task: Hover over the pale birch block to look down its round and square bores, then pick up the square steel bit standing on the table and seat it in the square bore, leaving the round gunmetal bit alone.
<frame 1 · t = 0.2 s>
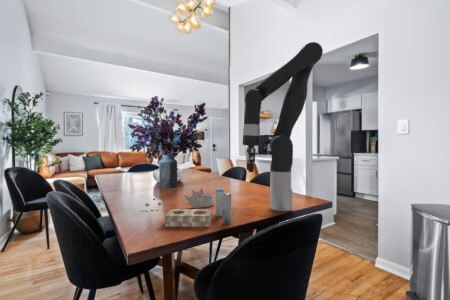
hand: (249, 170, 107), 17 cm above the table, tool pointing down, fingers open, 8 cm apart
diorama: (153, 206, 115), on the table
square bit: (220, 215, 98), on the table
socket block: (189, 222, 89), on the table
grey spiky piece: (201, 205, 115), on the table
round bit: (226, 223, 88), on the table
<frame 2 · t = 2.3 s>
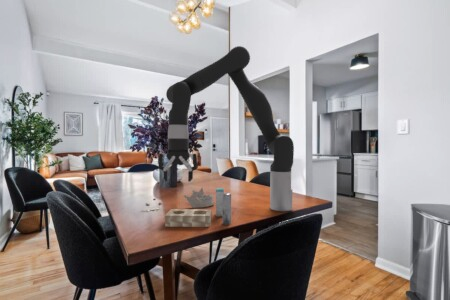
hand: (178, 181, 89), 16 cm above the table, tool pointing down, fingers open, 8 cm apart
nothing on the table moved.
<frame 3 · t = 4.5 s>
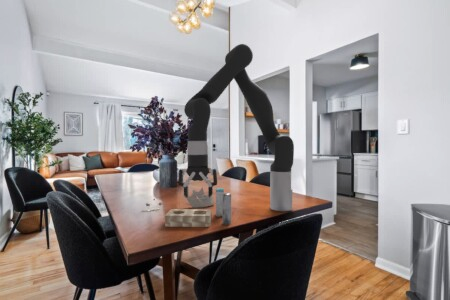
hand: (198, 196, 89), 10 cm above the table, tool pointing down, fingers open, 8 cm apart
nothing on the table moved.
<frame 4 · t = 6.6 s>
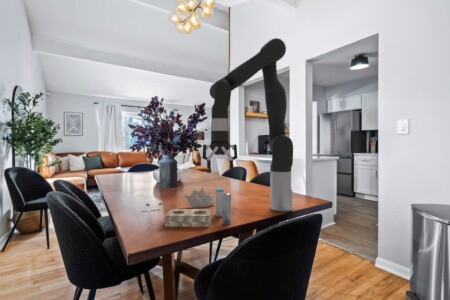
hand: (220, 169, 98), 19 cm above the table, tool pointing down, fingers open, 8 cm apart
nothing on the table moved.
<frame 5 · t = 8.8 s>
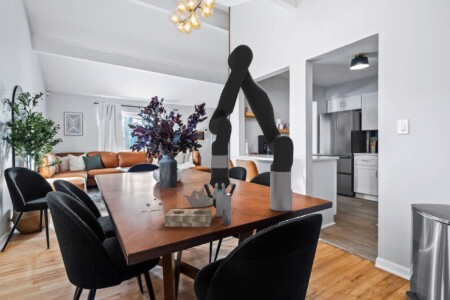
hand: (220, 207, 98), 3 cm above the table, tool pointing down, fingers closed on square bit, 3 cm apart
square bit: (220, 215, 98), on the table, touching gripper
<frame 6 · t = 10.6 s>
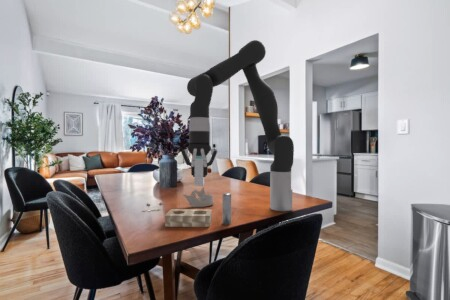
hand: (199, 176, 88), 17 cm above the table, tool pointing down, fingers closed on square bit, 3 cm apart
square bit: (199, 185, 89), point 14 cm above the table, touching gripper
when the fingers open (5 cm above the table, at t = 12.7 s): square bit drops 2 cm, resting in socket block.
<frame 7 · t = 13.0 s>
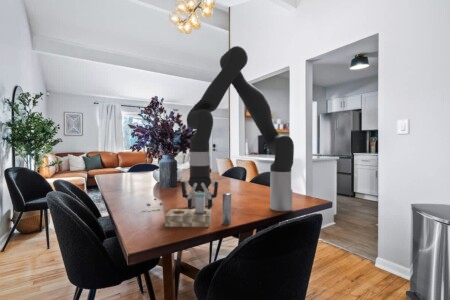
hand: (200, 208, 89), 5 cm above the table, tool pointing down, fingers open, 6 cm apart
square bit: (200, 223, 89), resting in socket block
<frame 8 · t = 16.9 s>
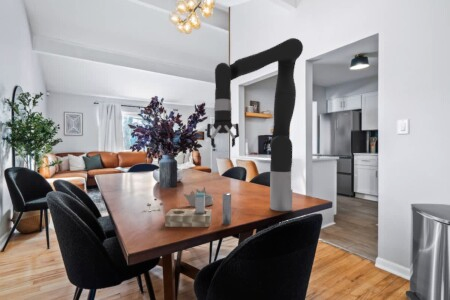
hand: (223, 147, 106), 28 cm above the table, tool pointing down, fingers open, 8 cm apart
at the end: square bit 0.1 cm from the target spot on the socket block, point 0.0 cm above the socket block's base; square bit tilted 0°; the gripper is holding nothing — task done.
